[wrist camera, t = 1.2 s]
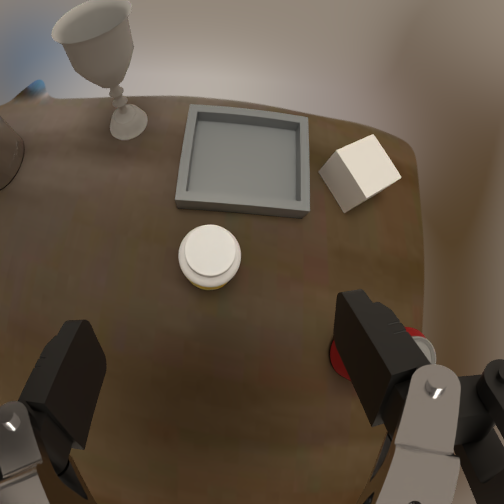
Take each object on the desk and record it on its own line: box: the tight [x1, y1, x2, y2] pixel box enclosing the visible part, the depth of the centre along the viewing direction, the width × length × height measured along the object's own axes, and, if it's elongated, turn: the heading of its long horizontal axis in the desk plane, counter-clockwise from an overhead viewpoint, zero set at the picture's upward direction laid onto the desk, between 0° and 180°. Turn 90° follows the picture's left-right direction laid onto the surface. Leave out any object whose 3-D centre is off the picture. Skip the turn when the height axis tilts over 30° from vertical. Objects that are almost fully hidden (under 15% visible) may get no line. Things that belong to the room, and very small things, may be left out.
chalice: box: [51, 0, 148, 140], centre depth 25 cm, size 7×7×18 cm
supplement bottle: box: [178, 225, 241, 290], centre depth 28 cm, size 5×5×10 cm
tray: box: [175, 104, 310, 219], centre depth 34 cm, size 14×12×3 cm
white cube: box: [318, 134, 401, 213], centre depth 34 cm, size 6×6×6 cm
